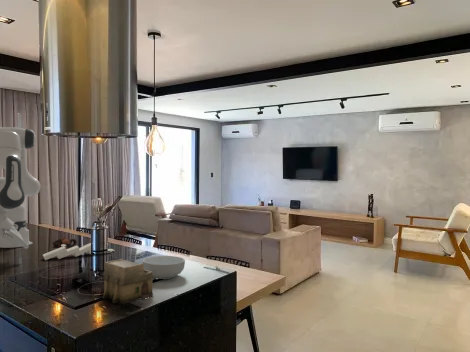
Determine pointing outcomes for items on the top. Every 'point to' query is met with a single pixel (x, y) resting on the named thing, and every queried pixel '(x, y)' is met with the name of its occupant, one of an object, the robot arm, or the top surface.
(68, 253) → the domino
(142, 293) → the miniature house
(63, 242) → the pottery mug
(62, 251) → the domino
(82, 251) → the domino
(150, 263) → the cereal bowl
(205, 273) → the top surface
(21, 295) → the top surface
